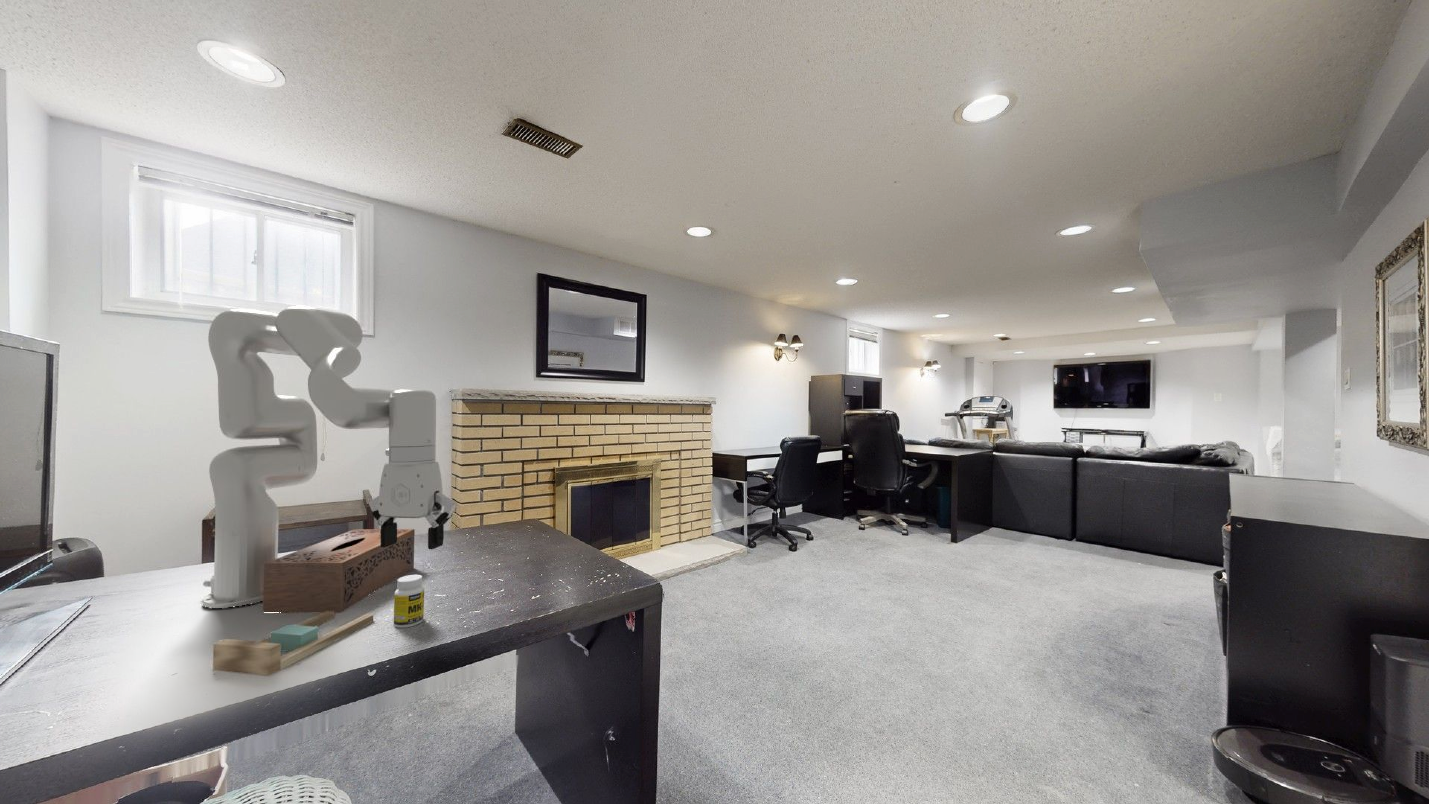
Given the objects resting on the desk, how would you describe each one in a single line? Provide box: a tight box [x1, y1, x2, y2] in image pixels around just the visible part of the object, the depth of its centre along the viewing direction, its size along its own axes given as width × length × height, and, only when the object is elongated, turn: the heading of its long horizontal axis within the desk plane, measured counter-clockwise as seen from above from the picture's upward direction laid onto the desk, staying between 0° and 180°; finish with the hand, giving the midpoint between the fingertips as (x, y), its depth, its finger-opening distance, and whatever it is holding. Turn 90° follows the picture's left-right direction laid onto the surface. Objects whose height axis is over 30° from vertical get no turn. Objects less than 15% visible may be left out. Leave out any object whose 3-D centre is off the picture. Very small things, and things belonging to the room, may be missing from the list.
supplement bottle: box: [393, 574, 425, 629], centre depth 90 cm, size 5×5×8 cm
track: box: [212, 611, 374, 677], centre depth 82 cm, size 10×19×4 cm, turn 172°
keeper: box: [269, 624, 319, 652], centre depth 81 cm, size 6×3×3 cm, turn 82°
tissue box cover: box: [262, 528, 416, 614], centre depth 106 cm, size 26×14×10 cm, turn 4°
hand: (412, 546), depth 90 cm, fingers open, 9 cm apart
